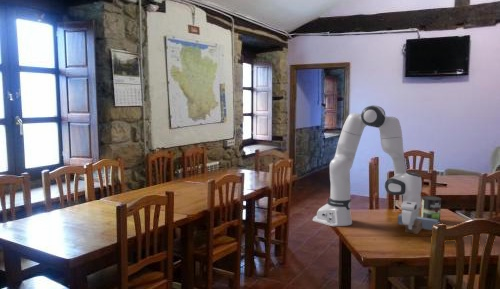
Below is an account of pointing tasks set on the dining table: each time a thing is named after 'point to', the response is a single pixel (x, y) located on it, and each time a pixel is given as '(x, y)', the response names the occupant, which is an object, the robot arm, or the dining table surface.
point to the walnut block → (414, 227)
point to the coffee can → (431, 207)
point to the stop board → (426, 222)
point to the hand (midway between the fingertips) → (410, 228)
